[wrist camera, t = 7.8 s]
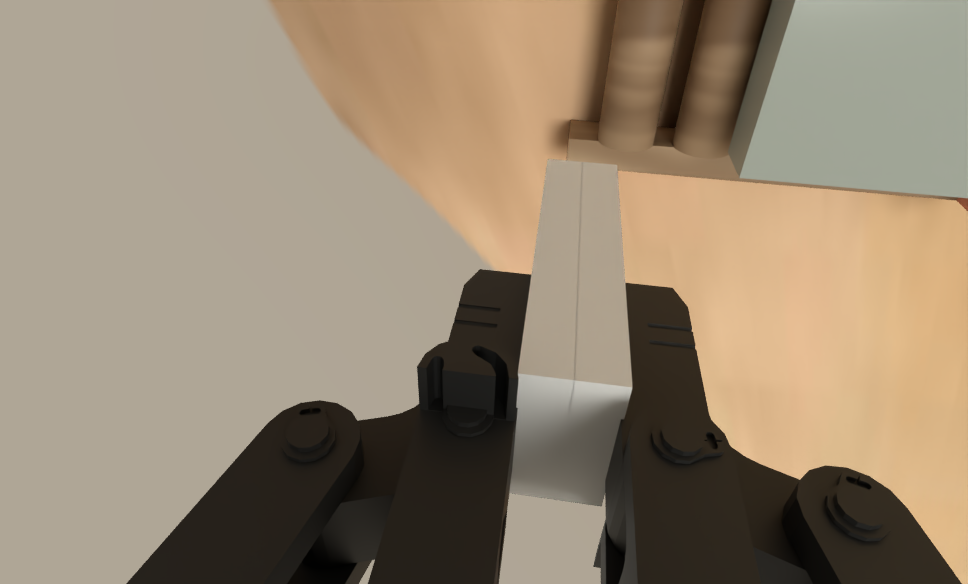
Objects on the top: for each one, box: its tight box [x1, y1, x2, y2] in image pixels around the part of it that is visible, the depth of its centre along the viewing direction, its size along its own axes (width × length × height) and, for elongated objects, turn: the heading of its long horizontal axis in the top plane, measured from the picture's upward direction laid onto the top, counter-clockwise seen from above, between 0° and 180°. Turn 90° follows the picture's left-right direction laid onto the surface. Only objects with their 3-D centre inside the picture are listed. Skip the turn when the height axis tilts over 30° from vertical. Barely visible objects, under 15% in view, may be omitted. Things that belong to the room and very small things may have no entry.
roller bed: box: [567, 0, 958, 200], centre depth 28 cm, size 14×22×4 cm, turn 88°
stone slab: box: [728, 0, 968, 198], centre depth 25 cm, size 10×12×3 cm
